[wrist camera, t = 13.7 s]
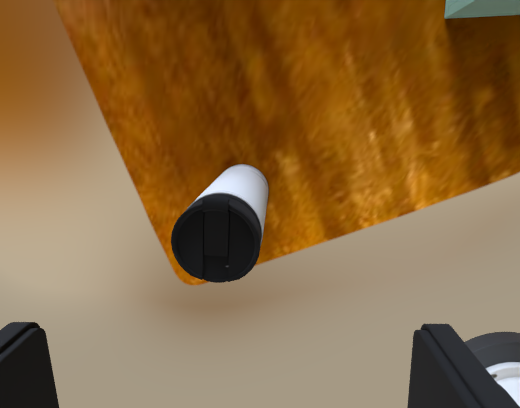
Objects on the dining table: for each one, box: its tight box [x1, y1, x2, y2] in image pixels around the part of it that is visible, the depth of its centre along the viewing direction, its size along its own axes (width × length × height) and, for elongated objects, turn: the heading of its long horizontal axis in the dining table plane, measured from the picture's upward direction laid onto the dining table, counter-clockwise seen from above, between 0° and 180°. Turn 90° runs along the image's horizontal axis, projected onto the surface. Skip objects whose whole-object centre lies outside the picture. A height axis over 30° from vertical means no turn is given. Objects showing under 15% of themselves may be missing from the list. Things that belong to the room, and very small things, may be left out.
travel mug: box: [171, 164, 269, 282], centre depth 34 cm, size 6×7×20 cm
